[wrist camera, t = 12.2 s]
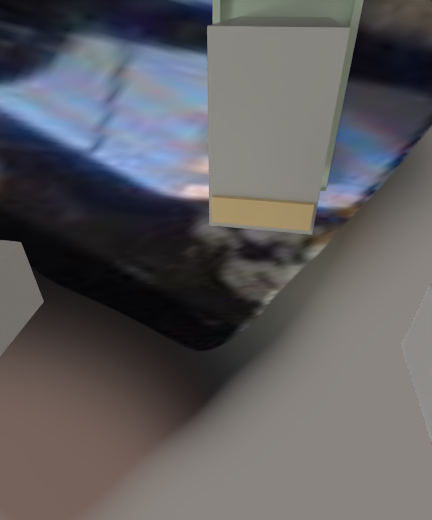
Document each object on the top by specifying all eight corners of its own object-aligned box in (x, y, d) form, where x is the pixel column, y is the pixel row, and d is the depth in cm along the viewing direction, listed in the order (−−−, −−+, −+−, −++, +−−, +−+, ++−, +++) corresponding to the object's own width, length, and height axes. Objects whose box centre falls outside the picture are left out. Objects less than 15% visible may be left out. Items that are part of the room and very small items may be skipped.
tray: (215, 176, 32) (212, 182, 31) (215, -14, 24) (212, -15, 23) (324, 184, 31) (325, 190, 30) (363, -14, 23) (366, -15, 22)
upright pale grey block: (234, 159, 30) (208, 227, 21) (238, 16, 24) (205, 26, 15) (306, 164, 29) (312, 237, 20) (329, 17, 24) (351, 27, 15)
